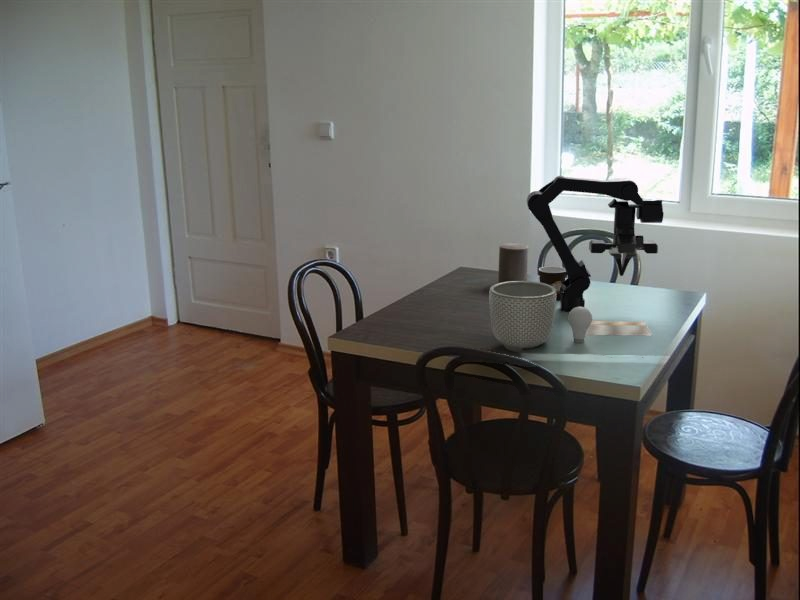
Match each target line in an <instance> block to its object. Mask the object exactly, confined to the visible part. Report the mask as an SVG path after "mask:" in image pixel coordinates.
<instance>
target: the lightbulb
mask: <svg viewBox="0 0 800 600" xmlns="http://www.w3.org/2000/svg"><path fill="white" fill-rule="evenodd" d="M567 319H568V324H569V326H570V328H571V330H572V337H573V342H574V343H575V344H584V343H585V339H586V336H587V335H586V331H587V329H588V327H589V326H590V324H591V322H592V321H593V315H592V312H591V311H590V310H589V309H588V308H586V307H575V308H574V309H572V310H571V311H570V312H568V316H567Z"/></svg>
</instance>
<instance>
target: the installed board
mask: <svg viewBox="0 0 800 600" xmlns="http://www.w3.org/2000/svg"><path fill="white" fill-rule="evenodd" d="M585 336H631V337H632V336H636V337H643V336H644V337H651V336H653V334H652V333H651V331H650V329H649V328H648V326H647V325H590V326H589V327H588V329H587V331H586V335H585Z"/></svg>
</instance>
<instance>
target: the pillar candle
mask: <svg viewBox="0 0 800 600" xmlns="http://www.w3.org/2000/svg"><path fill="white" fill-rule="evenodd" d="M498 253H499V254H498V277H497V279H498V283H502V282H508V281H528V267H529V266H528V265H529V245H526V244H522V243H515V242H514V241H513V242H512V243H502V244H500V245H499V252H498ZM498 283H497V284H498Z"/></svg>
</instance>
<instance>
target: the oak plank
mask: <svg viewBox="0 0 800 600" xmlns="http://www.w3.org/2000/svg"><path fill="white" fill-rule="evenodd" d="M590 325H639V326H646V324H645V321H615V320H614V321H609V320H608V321H607V320H603V321H602V320H600V321H599V320H596V321H595V320H592V322H591V324H590Z"/></svg>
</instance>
